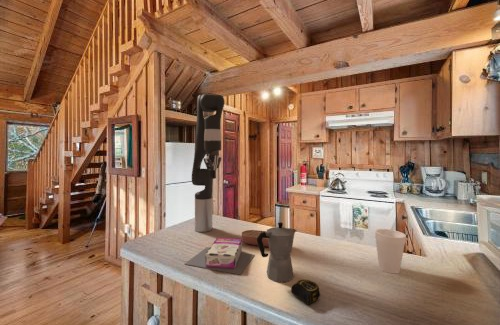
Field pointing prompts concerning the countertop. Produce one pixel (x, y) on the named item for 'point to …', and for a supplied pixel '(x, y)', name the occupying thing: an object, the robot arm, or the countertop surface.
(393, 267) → the foam cup
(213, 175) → the robot arm
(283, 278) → the coffeepot
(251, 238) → the anatomical model
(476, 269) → the countertop surface
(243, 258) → the mat
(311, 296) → the tape measure
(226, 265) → the candy bar box
